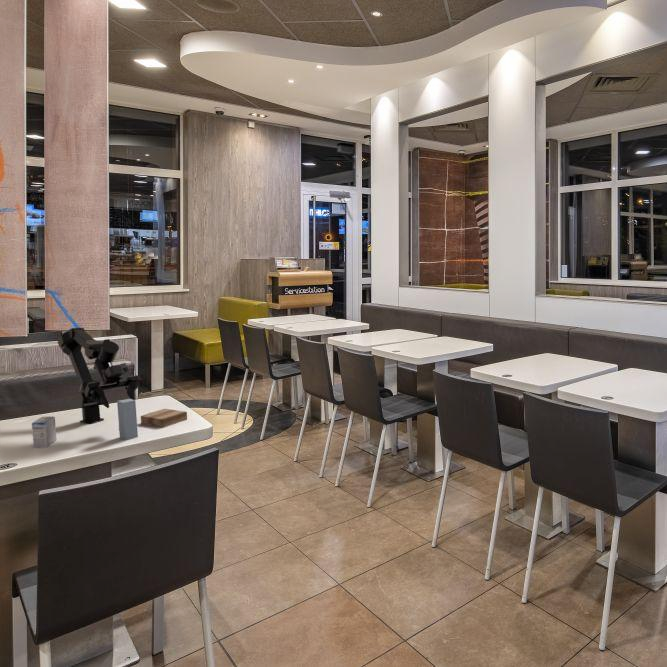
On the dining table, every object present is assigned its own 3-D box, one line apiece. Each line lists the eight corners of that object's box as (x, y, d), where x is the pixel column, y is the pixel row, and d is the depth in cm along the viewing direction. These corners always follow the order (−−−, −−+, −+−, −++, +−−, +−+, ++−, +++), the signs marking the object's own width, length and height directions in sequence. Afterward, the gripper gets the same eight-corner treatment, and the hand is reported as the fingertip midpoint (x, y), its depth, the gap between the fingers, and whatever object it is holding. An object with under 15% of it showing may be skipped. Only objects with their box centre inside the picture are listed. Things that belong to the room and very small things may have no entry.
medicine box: (43, 440, 191) (41, 416, 190) (57, 440, 191) (55, 415, 190) (33, 448, 183) (31, 422, 182) (47, 447, 184) (45, 422, 183)
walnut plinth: (187, 419, 214) (186, 411, 214) (163, 427, 204) (163, 419, 203) (165, 416, 220) (164, 408, 220) (141, 423, 210) (140, 415, 209)
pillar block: (119, 437, 193) (117, 400, 191) (132, 434, 196) (129, 398, 194) (125, 439, 190) (122, 402, 188) (137, 436, 193) (135, 400, 191)
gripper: (84, 360, 190) (100, 396, 183) (136, 353, 203) (152, 386, 196) (78, 380, 196) (92, 415, 190) (128, 372, 209) (144, 405, 203)
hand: (121, 404), depth 194 cm, fingers open, 9 cm apart
